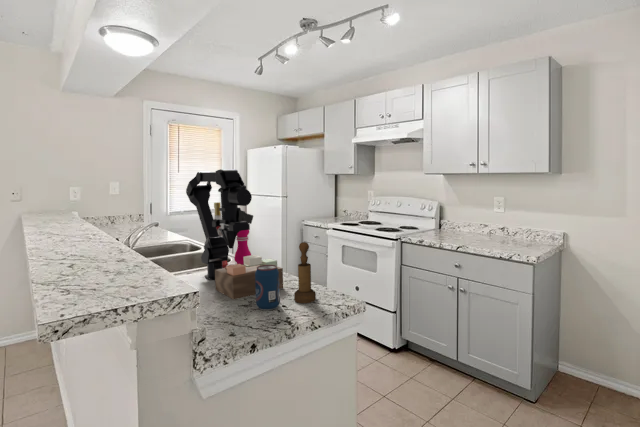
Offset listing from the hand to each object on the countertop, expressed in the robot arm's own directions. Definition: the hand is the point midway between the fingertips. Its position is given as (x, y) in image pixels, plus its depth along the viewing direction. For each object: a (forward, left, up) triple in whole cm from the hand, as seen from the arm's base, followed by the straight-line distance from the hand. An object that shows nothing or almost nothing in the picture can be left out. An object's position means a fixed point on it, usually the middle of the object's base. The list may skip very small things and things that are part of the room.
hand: (231, 248), depth 133 cm
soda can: (+30, -3, -13) cm, 33 cm away
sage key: (+13, +7, -6) cm, 16 cm away
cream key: (+13, +2, -4) cm, 14 cm away
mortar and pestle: (+32, +9, -13) cm, 36 cm away
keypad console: (+10, +2, -13) cm, 16 cm away
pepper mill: (-19, +14, -13) cm, 27 cm away
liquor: (-27, +7, -13) cm, 31 cm away
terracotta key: (+13, -4, -6) cm, 15 cm away
